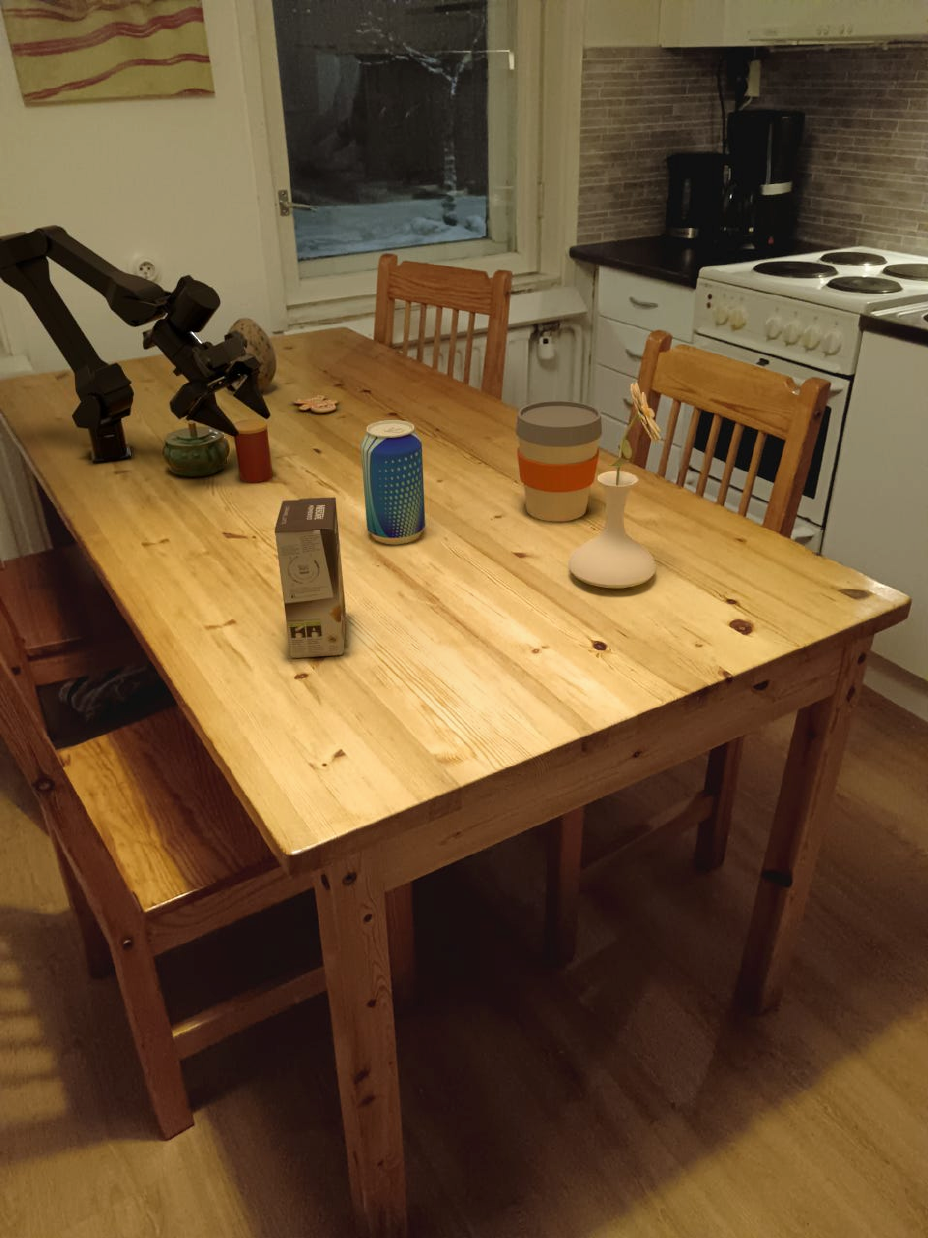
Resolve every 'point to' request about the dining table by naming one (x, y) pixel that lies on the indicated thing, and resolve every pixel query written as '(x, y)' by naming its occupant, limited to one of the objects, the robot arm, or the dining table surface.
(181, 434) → the lidded pot
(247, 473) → the tea canister
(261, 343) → the decorative egg
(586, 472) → the reusable coffee cup
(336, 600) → the coffee box
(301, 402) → the cookie
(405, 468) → the beer can
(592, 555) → the flower in vase
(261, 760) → the dining table surface
